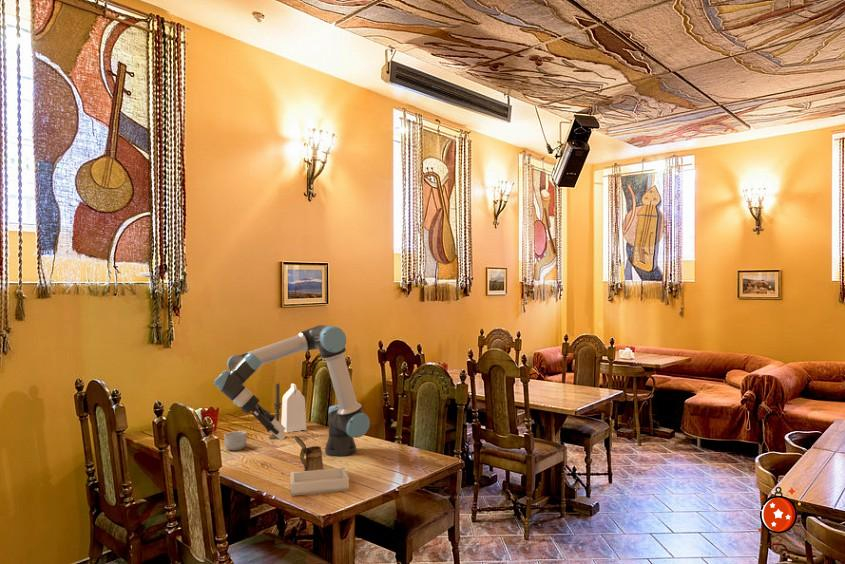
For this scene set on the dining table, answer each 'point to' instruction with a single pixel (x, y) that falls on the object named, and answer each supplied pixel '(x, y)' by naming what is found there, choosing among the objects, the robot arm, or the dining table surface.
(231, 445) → the teacup
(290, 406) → the milk
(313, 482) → the tray
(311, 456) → the wooden mug
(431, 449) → the dining table surface
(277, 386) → the candlestick holder
